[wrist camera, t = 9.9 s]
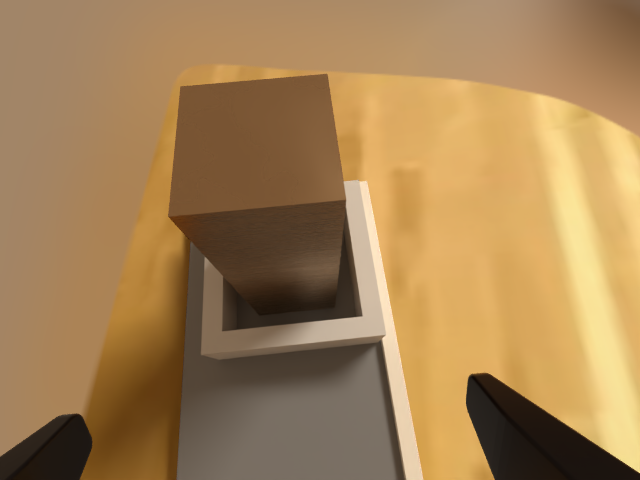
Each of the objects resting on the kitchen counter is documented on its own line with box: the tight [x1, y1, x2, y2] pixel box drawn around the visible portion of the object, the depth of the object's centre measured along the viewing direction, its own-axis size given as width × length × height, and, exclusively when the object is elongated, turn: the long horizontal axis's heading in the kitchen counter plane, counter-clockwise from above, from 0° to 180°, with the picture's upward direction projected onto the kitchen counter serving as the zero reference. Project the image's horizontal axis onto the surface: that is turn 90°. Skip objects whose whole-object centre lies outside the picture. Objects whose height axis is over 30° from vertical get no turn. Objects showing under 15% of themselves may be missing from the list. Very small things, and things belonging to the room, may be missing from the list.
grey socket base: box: [177, 180, 423, 480], centre depth 18 cm, size 20×12×4 cm, turn 6°
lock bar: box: [168, 74, 346, 316], centre depth 15 cm, size 4×4×12 cm
